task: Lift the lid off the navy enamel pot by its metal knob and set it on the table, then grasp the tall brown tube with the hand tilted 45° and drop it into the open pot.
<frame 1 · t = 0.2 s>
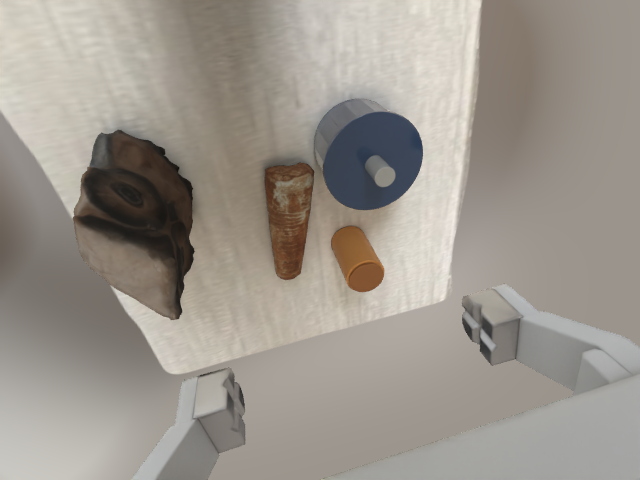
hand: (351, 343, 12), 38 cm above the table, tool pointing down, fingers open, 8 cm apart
pot lid: (372, 162, 44), point 7 cm above the table, touching pot
owl: (138, 181, 46), on the table
pot: (354, 141, 50), on the table
bread: (290, 217, 54), on the table
tall brown tube: (348, 240, 59), on the table
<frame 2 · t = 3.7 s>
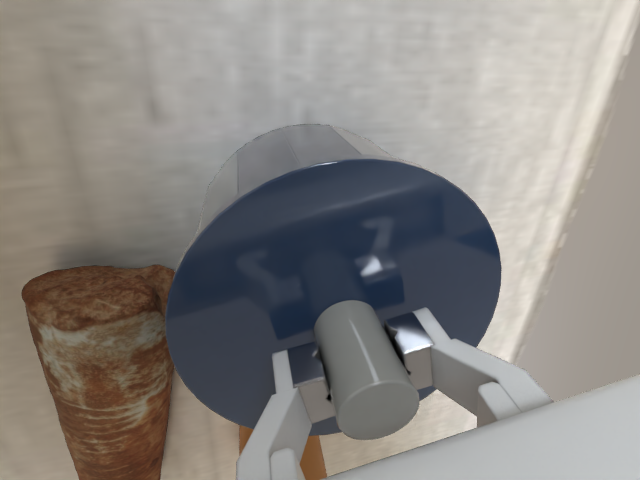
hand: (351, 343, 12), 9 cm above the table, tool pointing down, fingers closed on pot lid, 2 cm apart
pot lid: (341, 315, 14), point 7 cm above the table, touching gripper, pot
pot: (307, 228, 20), on the table
bread: (140, 375, 23), on the table
tall brown tube: (277, 424, 27), on the table
when the fingers open (2 cm above the table, at t = 10.4 s): pot lid stays where it is, point 1 cm above the table.
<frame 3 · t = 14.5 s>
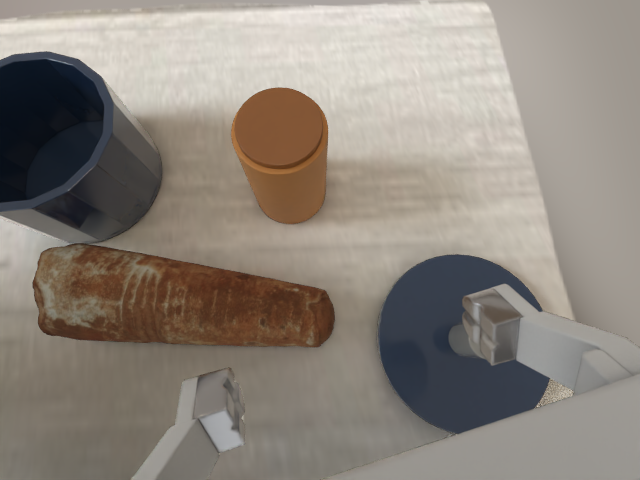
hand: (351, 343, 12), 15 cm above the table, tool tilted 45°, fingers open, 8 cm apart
pot lid: (462, 339, 26), point 1 cm above the table
pot: (93, 177, 30), on the table
bread: (208, 299, 28), on the table
tall brown tube: (291, 191, 30), on the table
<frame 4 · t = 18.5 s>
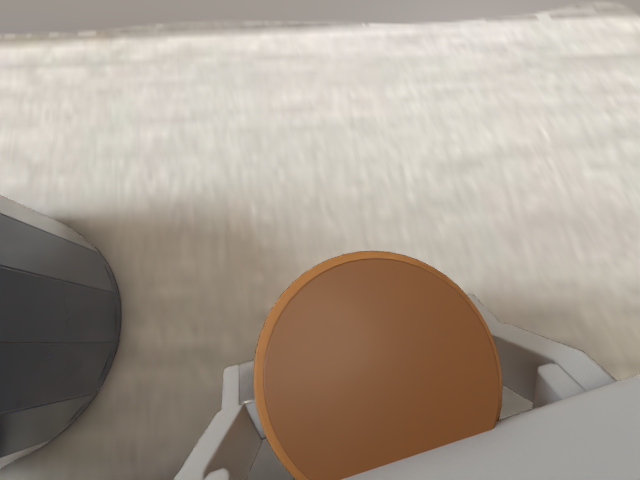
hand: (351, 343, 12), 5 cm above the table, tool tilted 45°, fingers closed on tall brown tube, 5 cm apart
pot: (1, 333, 17), on the table
tall brown tube: (348, 356, 17), on the table, touching gripper
when the fingers open (10 cm above the table, at t = 25.9 s): tall brown tube drops 4 cm, resting on pot.
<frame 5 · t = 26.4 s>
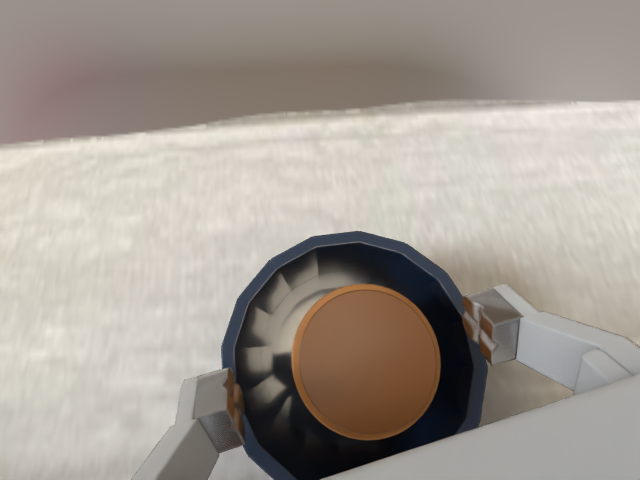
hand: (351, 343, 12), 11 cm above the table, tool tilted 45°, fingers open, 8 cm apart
pot: (343, 353, 23), on the table
tall brown tube: (349, 351, 22), point 1 cm above the table, touching pot
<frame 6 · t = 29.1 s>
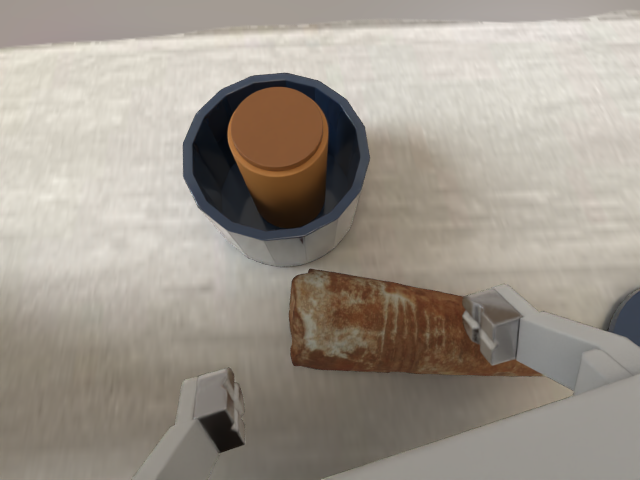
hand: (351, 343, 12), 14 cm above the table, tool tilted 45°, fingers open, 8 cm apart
pot: (286, 198, 29), on the table
bread: (421, 324, 27), on the table
tall brown tube: (289, 194, 29), resting on pot
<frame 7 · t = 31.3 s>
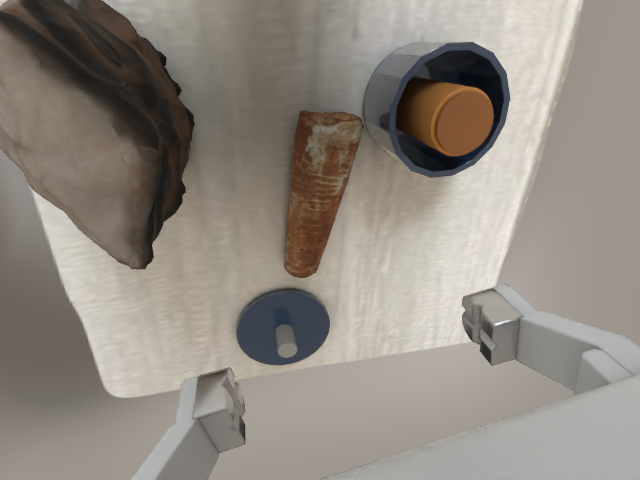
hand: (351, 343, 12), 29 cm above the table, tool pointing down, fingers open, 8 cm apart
pot lid: (283, 327, 48), point 1 cm above the table
owl: (119, 99, 33), on the table
pot: (414, 103, 39), on the table
bread: (314, 193, 41), on the table
tall brown tube: (416, 107, 38), resting on pot
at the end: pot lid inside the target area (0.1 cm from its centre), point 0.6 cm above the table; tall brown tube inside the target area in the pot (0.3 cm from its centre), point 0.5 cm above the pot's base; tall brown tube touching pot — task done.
